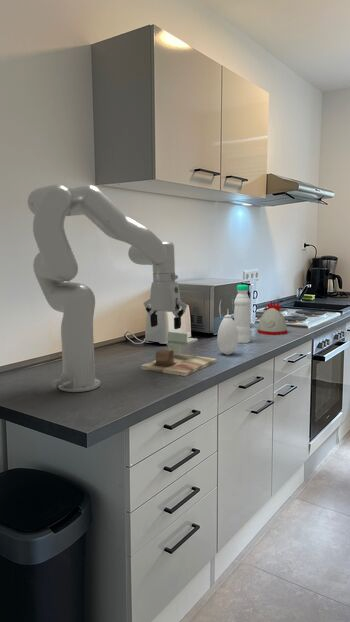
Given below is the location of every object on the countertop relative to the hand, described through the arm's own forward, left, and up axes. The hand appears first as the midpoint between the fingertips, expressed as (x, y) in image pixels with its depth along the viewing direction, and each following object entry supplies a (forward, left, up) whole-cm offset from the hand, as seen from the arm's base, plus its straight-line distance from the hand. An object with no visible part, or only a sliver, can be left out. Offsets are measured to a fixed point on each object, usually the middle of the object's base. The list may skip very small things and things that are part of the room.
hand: (165, 327), depth 166 cm
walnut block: (-1, 0, -14) cm, 14 cm away
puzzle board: (+4, -3, -14) cm, 15 cm away
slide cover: (+11, 0, -13) cm, 17 cm away
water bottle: (+52, -5, -14) cm, 55 cm away
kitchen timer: (+80, -8, -15) cm, 82 cm away
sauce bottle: (+28, -10, -14) cm, 33 cm away
